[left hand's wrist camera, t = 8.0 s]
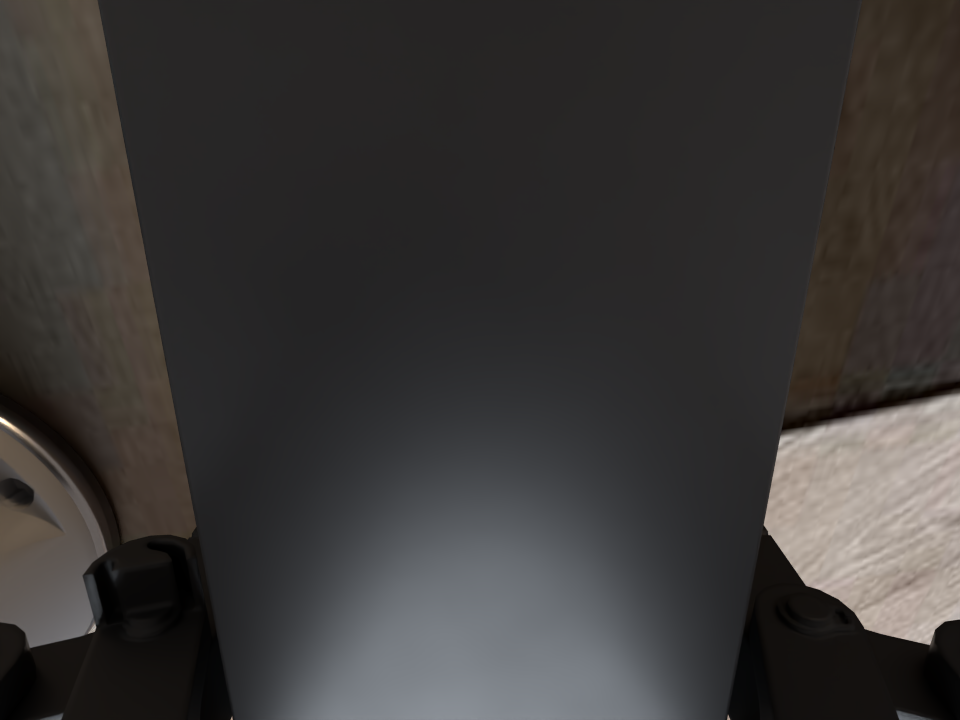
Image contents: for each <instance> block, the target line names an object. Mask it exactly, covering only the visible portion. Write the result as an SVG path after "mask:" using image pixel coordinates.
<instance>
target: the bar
mask: <svg viewBox="0 0 960 720" xmlns="http://www.w3.org/2000/svg"><path fill="white" fill-rule="evenodd" d="M861 3H862V0H98V4H99V9H100V14H101V20H102V25H103V30H104V36H105V41H106V46H107V52H108V57H109V62H110V68H111V73H112V78H113V84H114V89H115V94H116V100H117V105H118V110H119V115H120V121H121V126H122V131H123V137H124V142H125V147H126V153H127V158H128V163H129V169H130V174H131V179H132V185H133V190H134V195H135V201H136V206H137V211H138V217H139V222H140V227H141V233H142V238H143V243H144V249H145V254H146V259H147V265H148V270H149V275H150V281H151V286H152V291H153V297H154V302H155V307H156V313H157V318H158V323H159V329H160V334H161V339H162V345H163V350H164V355H165V360H166V366H167V371H168V376H169V382H170V387H171V392H172V398H173V403H174V408H175V414H176V419H177V424H178V430H179V435H180V440H181V446H182V451H183V456H184V462H185V467H186V472H187V478H188V483H189V488H190V494H191V499H192V504H193V510H194V515H195V520H196V526H197V531H198V536H199V542H200V547H201V552H202V558H203V563H204V568H205V574H206V579H207V584H208V589H209V595H210V600H211V605H212V611H213V616H214V621H215V627H216V632H217V637H218V643H219V648H220V653H221V659H222V664H223V669H224V675H225V680H226V685H227V691H228V696H229V701H230V707H231V712H232V717H233V720H727V717H728V711H729V706H730V701H731V695H732V690H733V685H734V679H735V674H736V669H737V663H738V658H739V653H740V647H741V642H742V637H743V631H744V626H745V621H746V615H747V610H748V605H749V599H750V594H751V589H752V583H753V578H754V573H755V567H756V562H757V557H758V552H759V546H760V541H761V536H762V530H763V525H764V520H765V514H766V509H767V504H768V498H769V493H770V488H771V482H772V477H773V472H774V466H775V461H776V456H777V450H778V445H779V440H780V434H781V429H782V424H783V418H784V413H785V408H786V402H787V397H788V392H789V386H790V381H791V376H792V370H793V365H794V360H795V354H796V349H797V344H798V338H799V333H800V328H801V323H802V317H803V312H804V307H805V301H806V296H807V291H808V285H809V280H810V275H811V269H812V264H813V259H814V253H815V248H816V243H817V237H818V232H819V227H820V221H821V216H822V211H823V205H824V200H825V195H826V189H827V184H828V179H829V173H830V168H831V163H832V157H833V152H834V147H835V141H836V136H837V131H838V125H839V120H840V115H841V110H842V104H843V99H844V94H845V88H846V83H847V78H848V72H849V67H850V62H851V56H852V51H853V46H854V40H855V35H856V30H857V24H858V19H859V14H860V8H861Z"/></svg>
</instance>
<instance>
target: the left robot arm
mask: <svg viewBox="0 0 960 720" xmlns="http://www.w3.org/2000/svg"><path fill="white" fill-rule="evenodd" d="M95 624H96V630H95V632H93V633H90V634H88V632H89V631H90V630H91V628H92V627H93V626H94V625H95ZM728 715H729V718H730V720H960V620H953V621H946V622H944V623H943V624H942V625H940V626H939V627H938V628H937V629H935V632H934V635H933V638H932V641H931V644H930V645H927V644H922V643H918V642H913V641H909V640H905V639H900V638H896V637H891V636H887V635H883V634H879V633H876V632H872V631H869V630H866V629H864V627H863V625H862V624H861V622H860V621H859V619H858V618H857V616H856V615H855V613H854V612H853V611H852V610H850V609H849V608H848V607H847V606H846V605H844V604H843V603H842V602H841V601H840V600H838V599H836V598H834V597H832V596H830V595H828V594H826V593H824V592H822V591H821V590H818V589H815V588H811V587H807V586H806V585H805V584H804V582H803V581H802V580H801V578H800V577H799V575H798V574H797V572H796V571H795V569H794V568H793V567H792V565H791V564H790V562H789V561H788V559H787V558H786V557H785V555H784V554H783V552H782V551H781V549H780V548H779V547H778V545H777V544H776V542H775V541H774V539H773V538H772V537H771V535H768V531H767V529H766V528H765V527H764V525H763V530H762V536H761V541H760V546H759V552H758V557H757V562H756V567H755V573H754V578H753V583H752V589H751V594H750V599H749V605H748V610H747V615H746V621H745V626H744V631H743V637H742V642H741V647H740V653H739V658H738V663H737V669H736V674H735V679H734V685H733V690H732V695H731V701H730V706H729V711H728ZM231 717H232V712H231V707H230V701H229V696H228V691H227V685H226V680H225V675H224V669H223V664H222V659H221V653H220V648H219V643H218V637H217V632H216V627H215V621H214V616H213V611H212V605H211V600H210V595H209V589H208V584H207V579H206V574H205V568H204V563H203V558H202V552H201V547H200V542H199V536H198V531H197V527H196V529H195V530H194V531H193V533H192V537H189V539H188V540H187V539H185V538H181V537H177V536H173V535H156V536H148V537H144V538H140V539H136V540H132V541H129V542H126V543H124V544H122V545H120V537H119V533H118V528H117V524H116V520H115V517H114V514H113V512H112V509H111V506H110V504H109V502H108V500H107V498H106V495H105V493H104V491H103V490H102V488H101V486H100V485H99V483H98V481H97V479H96V478H95V476H94V475H93V474H92V472H91V471H90V469H89V468H88V466H87V465H86V464H85V462H84V461H83V460H82V459H81V458H80V456H79V455H78V454H77V453H76V452H75V451H74V449H73V448H72V447H71V446H70V445H69V444H68V443H67V442H66V441H65V440H64V439H63V438H62V437H61V436H60V435H58V434H57V433H56V432H55V431H54V430H53V429H51V428H50V427H49V426H48V425H47V424H46V423H44V422H43V421H42V420H40V419H39V418H38V417H36V416H35V415H34V414H32V413H31V412H29V411H28V410H26V409H25V408H23V407H22V406H20V405H18V404H17V403H15V402H14V401H12V400H10V399H8V398H6V397H4V396H3V395H1V394H0V720H231Z"/></svg>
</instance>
